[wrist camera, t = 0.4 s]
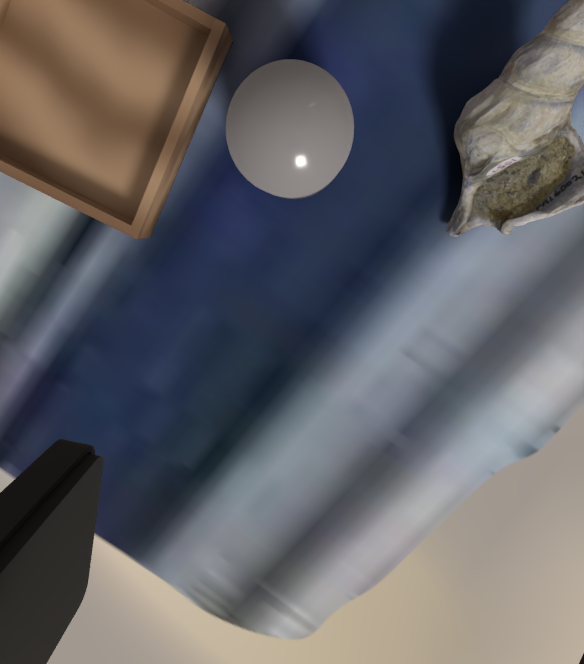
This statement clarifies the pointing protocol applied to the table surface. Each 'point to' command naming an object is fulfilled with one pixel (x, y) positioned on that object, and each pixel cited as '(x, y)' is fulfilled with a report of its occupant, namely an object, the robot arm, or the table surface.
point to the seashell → (525, 133)
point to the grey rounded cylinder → (290, 128)
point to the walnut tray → (105, 100)
